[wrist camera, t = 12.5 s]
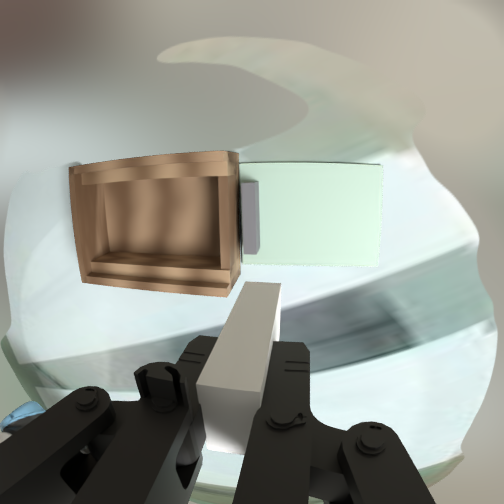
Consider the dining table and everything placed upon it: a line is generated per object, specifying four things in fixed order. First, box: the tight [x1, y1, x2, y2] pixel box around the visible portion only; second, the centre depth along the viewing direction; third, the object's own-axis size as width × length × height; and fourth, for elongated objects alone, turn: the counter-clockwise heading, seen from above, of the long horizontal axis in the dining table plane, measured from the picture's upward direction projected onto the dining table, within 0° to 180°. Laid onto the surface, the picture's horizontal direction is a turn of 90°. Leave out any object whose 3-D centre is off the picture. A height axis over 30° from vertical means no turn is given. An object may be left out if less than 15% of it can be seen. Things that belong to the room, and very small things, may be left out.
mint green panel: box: [239, 163, 383, 267], centre depth 33 cm, size 17×12×4 cm
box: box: [69, 151, 240, 297], centre depth 34 cm, size 20×15×7 cm
